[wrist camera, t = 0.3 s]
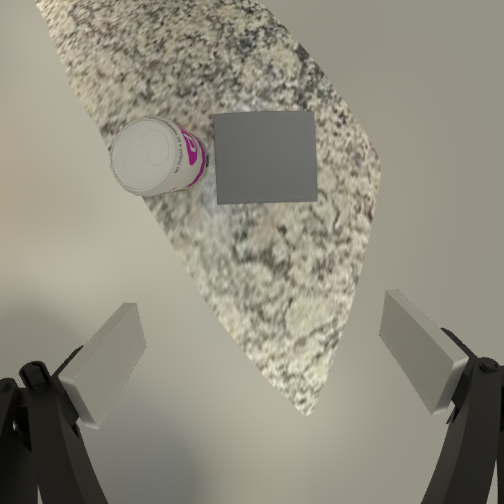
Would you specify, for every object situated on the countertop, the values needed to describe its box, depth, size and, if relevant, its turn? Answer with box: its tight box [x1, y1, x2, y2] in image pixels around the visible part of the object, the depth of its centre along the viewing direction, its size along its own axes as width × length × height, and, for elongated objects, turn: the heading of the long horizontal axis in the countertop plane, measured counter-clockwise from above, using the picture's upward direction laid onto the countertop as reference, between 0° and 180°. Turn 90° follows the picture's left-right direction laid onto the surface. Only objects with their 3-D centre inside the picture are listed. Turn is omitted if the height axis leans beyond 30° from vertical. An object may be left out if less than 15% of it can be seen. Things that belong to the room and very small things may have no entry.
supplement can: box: [110, 116, 209, 196], centre depth 31 cm, size 8×8×15 cm
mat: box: [214, 111, 317, 205], centre depth 38 cm, size 13×14×1 cm
